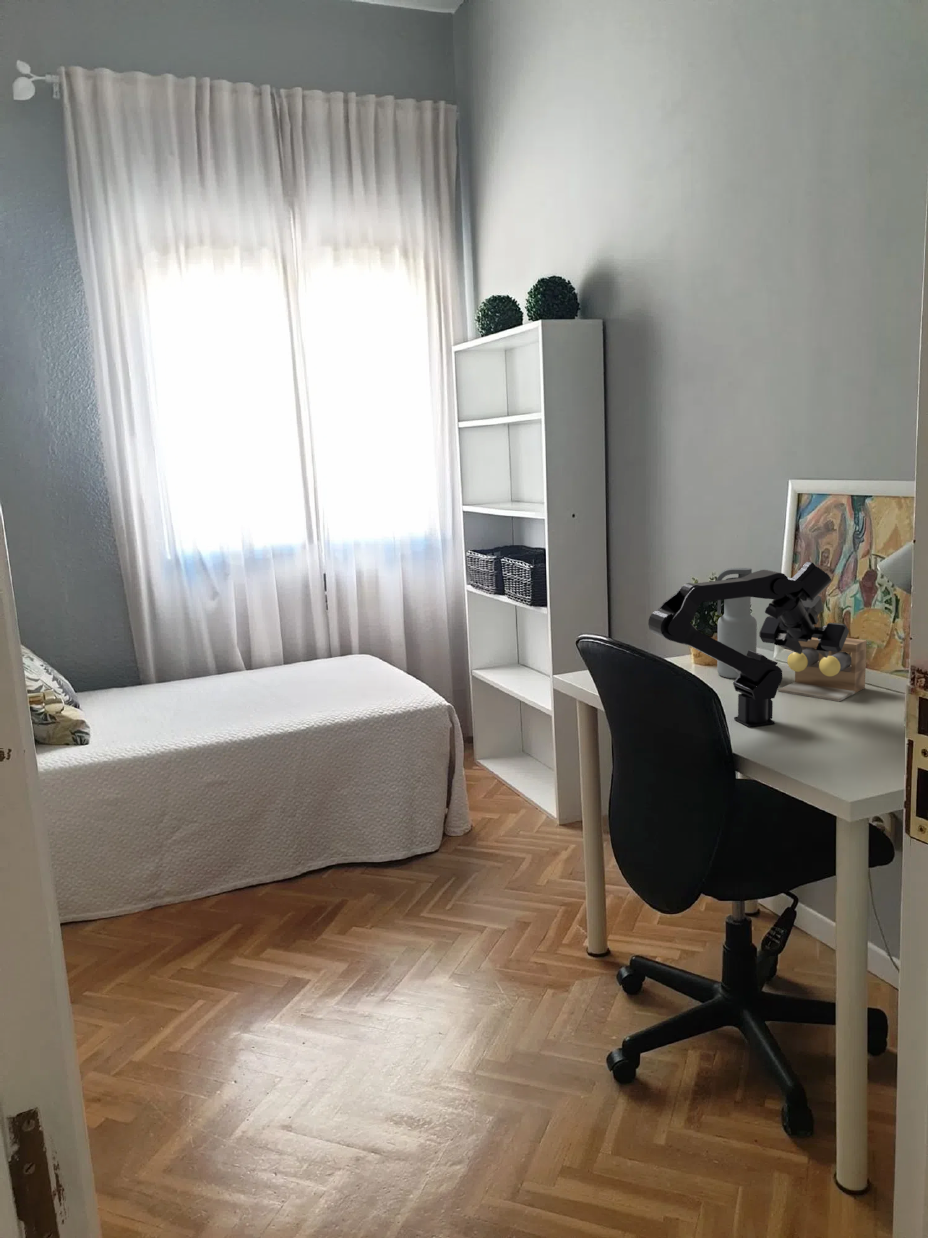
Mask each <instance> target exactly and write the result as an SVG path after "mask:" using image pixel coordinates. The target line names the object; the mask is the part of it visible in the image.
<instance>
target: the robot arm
mask: <svg viewBox="0 0 928 1238" xmlns="http://www.w3.org/2000/svg"><path fill="white" fill-rule="evenodd" d="M831 583H832V579H831V576H830V574H828V573H827V572H825V571H824V570H823V569H821V567H818V566H817V565H815V563H814V562H812V561H806V562H804V564H803V565H802V567H801V568H800V569H799V570H798V571H797V573H795V575H793V576H792V577H789V576H787V575H786V574H785V573H782V572H777V571H773V570H769V569H760V570H756V571H754V572H752V573H750V574H748V575H747V576H745V577H742V578H738V579H729V580H726V579H722V580H720V581H716V580H712V581H703V582H695V583H694V582H686V583H684V584H683V585H682V586H681V587H679V589H678V590H677V591H676V592H675V593H674V594H673V595H671V596H670V597H669V598H668V599H666V600H665V601H664V602H663V603H662V604H661V605H660V607H659V608H658V609H656V610H654V611H653V612H652V613H651V614H650V616H649V618H648V629H649V631H650V632H651V633H652V634H653V635H656V636H657V637H661V638H663V639H666V640H668V641H670V642H674V643H678V644H681V645H686V646H688V647H691V648H693V649H694V650H697V651H698V652H701V653H703V654H704V655H706V656H709V657H710V658H712V659H714V660H716V661H717V660H718V661H720V662H722V663H724V664H726V665H727V666H729V667H731V668H733V669H734V670H735V671H736V672H737V673H738V674H739V676H738V678H737V679H734V681H732V685H733V689H734V690H735V692H738V694H737V696H738V697H737V716H734V717H733V719H734V720H735V721H737V722H739V723H740V724H743V725H744V726H746V727H749V728H750V727H752V728H753V727H758V726H759V727H760V726H765V725H766V726H767V725H774V724H776V721H775V720H773V707H774V704H773V703H774V701H773V700H772V699H775V698H776V696H777V693H778V691H779V686H780V684H781V683H782V681H783V670H782V668H781V667H779V666H778V663H779V662H777V661H775V660H772V659H769V658H768V657H766V656H765V655H764V654H761V653H758V652H757V651H756V652H753V651H751V650H748V653H747V655H743V654H742V653H740V652H738V651H736V650H734V649H732V648H730V647H728V646H726V645H724V644H722V643H721V642H719V641H718V639H715V638H713V637H711V636H708V635H707V634H705V633H703V632H702V631H700V630H698V629H697V628H696V626H694V624H692V621H693V620H694V618H695V615H696V613H697V611H698V608H699V607H700V605H701V604H702V603H707V602H713V601H718V600H721V601H722V600H725V599H733V598H742V597H751V598H757V599H764V600H772V601H771V602H770V603H769V604H768V606H767V607H765V611H764V613H765V614H767V615H768V616H766V617H765V619H764V621H763V623H762V626H761V628H760V629H759V633H758V634H759V635H758V636H759V638H760V640H761V641H762V643H766V644H774V645H775V646H779V647H781V648H784V649H786V650H789V651H791V652H792V653H793V652H796V653H798V654H801V653H802V647H801V645H800V643H799V641H803V642H807V641H808V640H811V639H812V637H813V638H818V640H819V643H818V646H817V648H815V649H816V650H817V651H818V652H819V653H820V654H821V655H822V656H824V657H825V658H827V657H828V654H829V651H834V652H839V651H841V650H842V648H843V645H844V643H845V640H846V638H848V635H849V632H850V630H849V628H848V626H847V625H846V624H845V623H837V622H828V623H826V625H823V626H822V627H819V626H815V625H818V623H819V619H818V616H819V615H820V613H821V612H822V611H823V610H824V606H823V602H822V596H821V595H820V594H821V593H822V592H823V591H824V590H825V589H826V588H827V587H828V586H829V585H830V584H831Z"/></svg>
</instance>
